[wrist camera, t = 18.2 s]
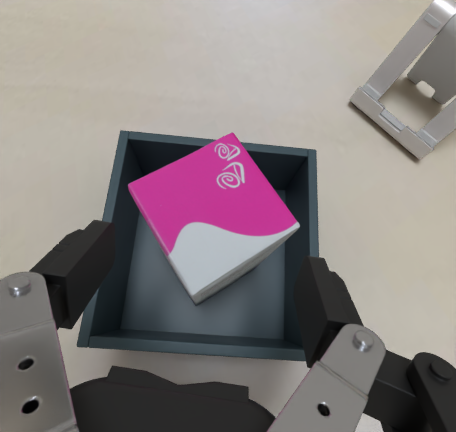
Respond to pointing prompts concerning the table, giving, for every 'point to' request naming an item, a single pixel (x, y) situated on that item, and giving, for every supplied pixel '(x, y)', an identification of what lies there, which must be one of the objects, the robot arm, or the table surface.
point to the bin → (170, 284)
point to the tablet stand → (418, 78)
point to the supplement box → (213, 216)
